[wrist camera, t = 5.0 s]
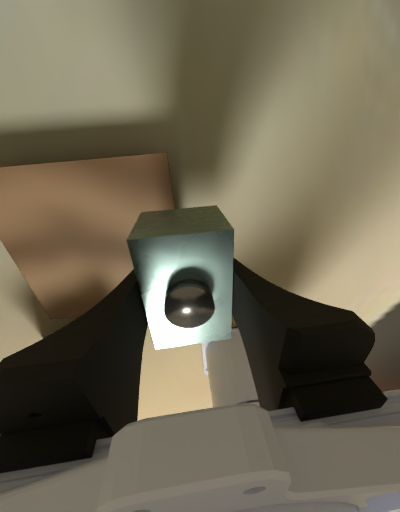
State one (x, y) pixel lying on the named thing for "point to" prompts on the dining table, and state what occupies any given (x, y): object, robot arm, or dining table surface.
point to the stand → (78, 224)
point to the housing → (184, 274)
